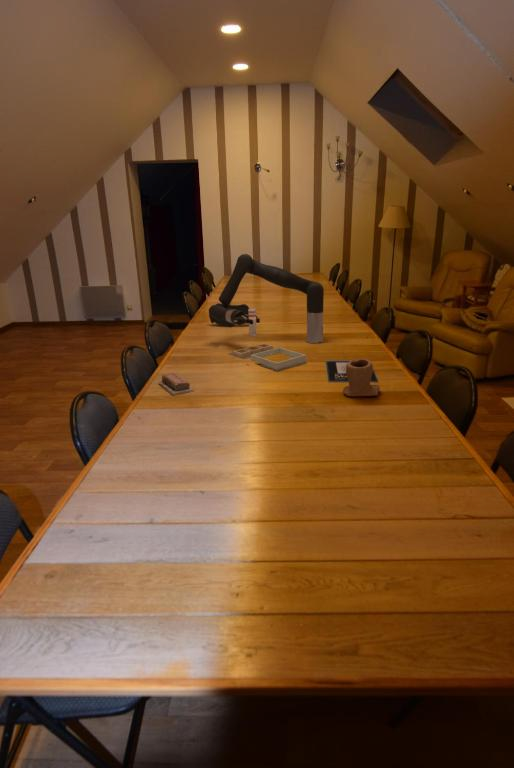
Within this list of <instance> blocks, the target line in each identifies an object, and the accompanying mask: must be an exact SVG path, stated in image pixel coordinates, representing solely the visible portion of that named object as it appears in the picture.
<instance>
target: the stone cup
mask: <svg viewBox="0 0 514 768" xmlns="http://www.w3.org/2000/svg"><path fill="white" fill-rule="evenodd" d="M349 361H350V362H348V363H347V365H346V375H347V379H348V382H347V383H348V385H346V386H344V387H343V389H342V392H343V394H344V395H346V396H348V397H374V396H375V397H376V396H378V395H379V392H380V387H381V385H380V384H371V383H370V381H371V377H372V373H373V370H374V367H373V364H372V362H371V360H370V359H367V358H358V359H352V360H351V359H350V360H349Z"/></svg>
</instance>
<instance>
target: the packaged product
mask: <svg viewBox="0 0 514 768" xmlns="http://www.w3.org/2000/svg"><path fill="white" fill-rule="evenodd" d="M158 384H160V385H159V386H161V387H162V388H163V389H164V390H165V392H167V393H169V394H170V395H172V396H177V395H183V394H188V393H193V392H195V388H194V387H192V386H191V384H190V383H189V382H188V381H187V380H186V379H184V378H183V377H181V376H180V375H179V374H177V373H175V372H170V373H165V374H161V381H158Z"/></svg>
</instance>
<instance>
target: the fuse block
mask: <svg viewBox="0 0 514 768" xmlns="http://www.w3.org/2000/svg"><path fill="white" fill-rule="evenodd" d="M272 349H274V345H272V344H267V343H261V344H256V345H252V346H248V347H244V348H240V349H236V350H232V352H229V353H227V355H229V356H232V357H235V358H239V359H241V360H248V359H251V355H252V354H256V353H260V352H264V351H268V350H272Z"/></svg>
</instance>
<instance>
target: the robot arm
mask: <svg viewBox="0 0 514 768" xmlns="http://www.w3.org/2000/svg"><path fill="white" fill-rule="evenodd" d="M246 274H249V275H253V276H257V277H259V278H262V279H263V280H265V281H267V282H270V283H272V284H273V285H275V286H279V287H281V288H286V289H290V290H295V291H298V292H301V293H303V294H305V295H306V342H307V343H310V344H320V343H319V342H321V343H324V300H325V299H324V296H325V295H324V293H325V288H324V286H323V284H322V283H320V282H318V281H313V280H310V279H306V278H303V277H301V276H299V275H297V274H294V273H292V272H291V271H288V270H286V269H284V268H280V267H277V266H274V265H269V264H264V263H262V262H259V261H257V260H256V259H253V257H252V255H250V254H247V253H243V254H240V255H239V256H238V258H237V260H236V263H235V267H234V268H233V271H232V274H231V275H230V278H229V279H228V281H227V283H226V285H225V286H224V288H223V290H222V292H221V293H220V295H219V297H218V301H219V303H221V304H222V306H219V305H215V304H212V305H211V306H209V309H208V315H209V314H210V316H212V317H213V318H215V319H217V320H219V321H222V320H224V321H227V322H230V323H233V324H235V325H238V326H241V325H245V324H246V325H249V324H253V320H251V319H249V316H248V315H246V314H245V313H244V312H243V311H239V310H235V309H229V306H230V305H231V303H232V301H233V299H234V298H235V296H236V294H237V291H238V289H239V286H240V284H241V282H242V280H243V278H244V276H245V275H246ZM260 321H261V319H260V318H258V315H256V324H260Z"/></svg>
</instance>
